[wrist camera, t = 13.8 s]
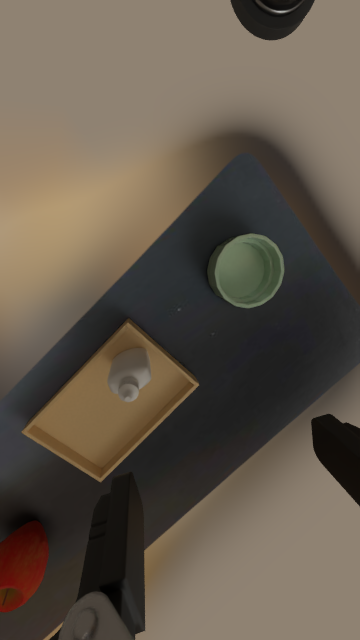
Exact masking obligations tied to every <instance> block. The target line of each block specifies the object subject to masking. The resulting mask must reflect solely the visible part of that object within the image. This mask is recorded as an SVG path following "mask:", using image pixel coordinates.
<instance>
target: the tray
mask: <svg viewBox="0 0 360 640" xmlns="http://www.w3.org/2000/svg"><path fill="white" fill-rule="evenodd" d="M131 348H145V349H146V350H147V352H148V354H149V357H150V366H151V380H150V381H149V382H148V383H147V384H146V385H145V386H144V387H143V388H141V389H139V395H138V397H137V398H136V399H135V400H133V401H131V402H125V401H123V400H121V399H120V398H119V396H118V394H115V393H112V392H111V390H110V388H109V386H108V382H107V379H108V375H109V371H110V367H111V364H112V360H113V359H114V357H116V356H117V355H118V354H120V353H121V352H123V351H125V350H128V349H131ZM198 386H199V383H198V381H197V379H196V377H195V376H194V375H193V374H191V373H190V372H189V371H188V370H187V369H186V368H185V367H184V366H182V365H181V364H180V363H179V362H178V361H177V360H176V359H175V358H173V357H172V356H171V355H170V354H169V353H168V352H167V351H166V350H164V349H163V348H162V347H161V346H160V345H159V344H158V343H156V342H155V341H154V340H153V339H152V338H151V337H150V336H149V335H147V334H146V333H145V332H144V331H143V330H142V329H141V328H140V327H138V326H137V325H136V324H135V323H134V322H133V321H132V320H131V319H129V318H128V319H127V320H126V321H125V322H124V323H123V324H122V325H121V326H120V327H119V328H118V329H117V331H116V332H115V333H114V334H113V335H112V336H111V337H110V338H109V339H108V340H107V341H106V342H105V343H104V344H103V345H102V346H101V347H100V348H99V349H98V350H97V351H96V352H95V353H94V354H93V355H92V356H91V357H90V358H89V359H88V361H87V362H86V363H85V364H84V365H83V366H82V367H81V368H80V369H79V370H78V371H77V372H76V373H75V374H74V375H73V376H72V377H71V378H70V379H69V380H68V381H67V382H66V383H65V384H64V385H63V386H62V387H61V388H60V389H59V391H58V392H57V393H56V394H55V395H54V396H53V397H52V398H51V399H50V400H49V401H48V402H47V403H46V404H45V405H44V406H43V407H42V408H41V409H40V410H39V411H38V412H37V413H36V414H35V415H34V416H33V417H32V418H31V419H30V421H29V422H28V423H27V425H26V426H25V428H24V429H23V430H22V432H21V433H23V434H25V435H26V436H28V437H29V438H31V439H33V440H34V441H36V442H37V443H39V444H40V445H42V446H44V447H45V448H47V449H48V450H50V451H52V452H53V453H55V454H56V455H58V456H60V457H61V458H63V459H64V460H66V461H68V462H69V463H71V464H72V465H74V466H76V467H77V468H79V469H80V470H82V471H83V472H85V473H87V474H88V475H90V476H91V477H93V478H95V479H96V480H98V481H99V482H101V481H102V480H103V479H104V478H105V477H106V476H107V475H108V474H110V473H111V472H112V471H113V470H114V469H115V468H116V467H117V466H118V465H119V464H120V463H121V462H122V461H123V460H124V459H125V458H126V457H127V456H128V455H129V454H130V453H131V452H132V451H133V450H134V449H135V448H136V447H137V446H138V445H139V444H140V443H141V442H142V441H143V440H144V439H145V438H146V437H147V436H148V435H149V434H150V433H151V432H152V431H153V430H154V429H155V428H156V427H157V426H158V425H159V424H160V423H161V422H162V421H163V420H164V419H165V418H166V417H167V416H168V415H169V414H170V413H171V412H172V411H173V410H174V409H175V408H176V407H177V406H178V405H179V404H180V403H181V402H182V401H183V400H184V399H185V398H187V397H188V396H189V395H190V394H191V393H192V392H193V391H194V390H195V389H196V387H198Z"/></svg>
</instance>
